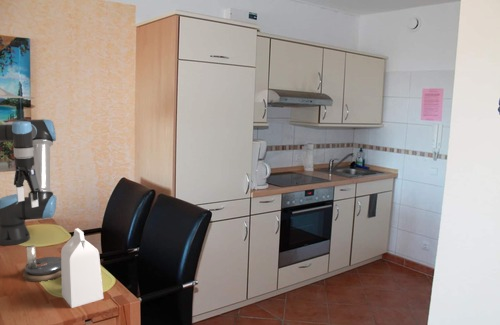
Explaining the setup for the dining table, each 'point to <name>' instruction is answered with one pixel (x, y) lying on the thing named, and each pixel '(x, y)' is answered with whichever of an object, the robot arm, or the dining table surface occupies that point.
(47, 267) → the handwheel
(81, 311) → the dining table surface
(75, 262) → the milk
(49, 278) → the wheel base
